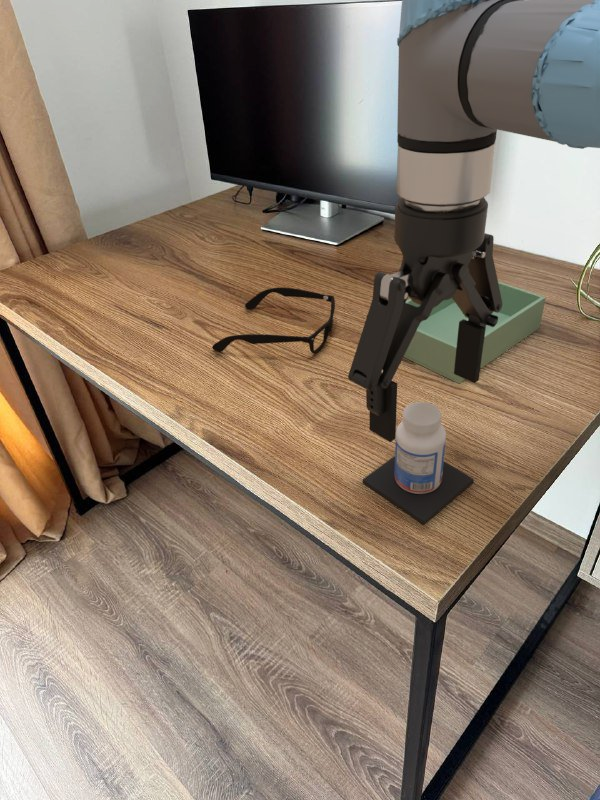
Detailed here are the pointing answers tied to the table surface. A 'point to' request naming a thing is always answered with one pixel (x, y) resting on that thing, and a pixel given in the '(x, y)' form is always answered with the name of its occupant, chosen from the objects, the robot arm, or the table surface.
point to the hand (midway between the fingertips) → (426, 404)
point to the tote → (514, 324)
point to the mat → (418, 504)
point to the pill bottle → (420, 448)
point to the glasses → (280, 338)
